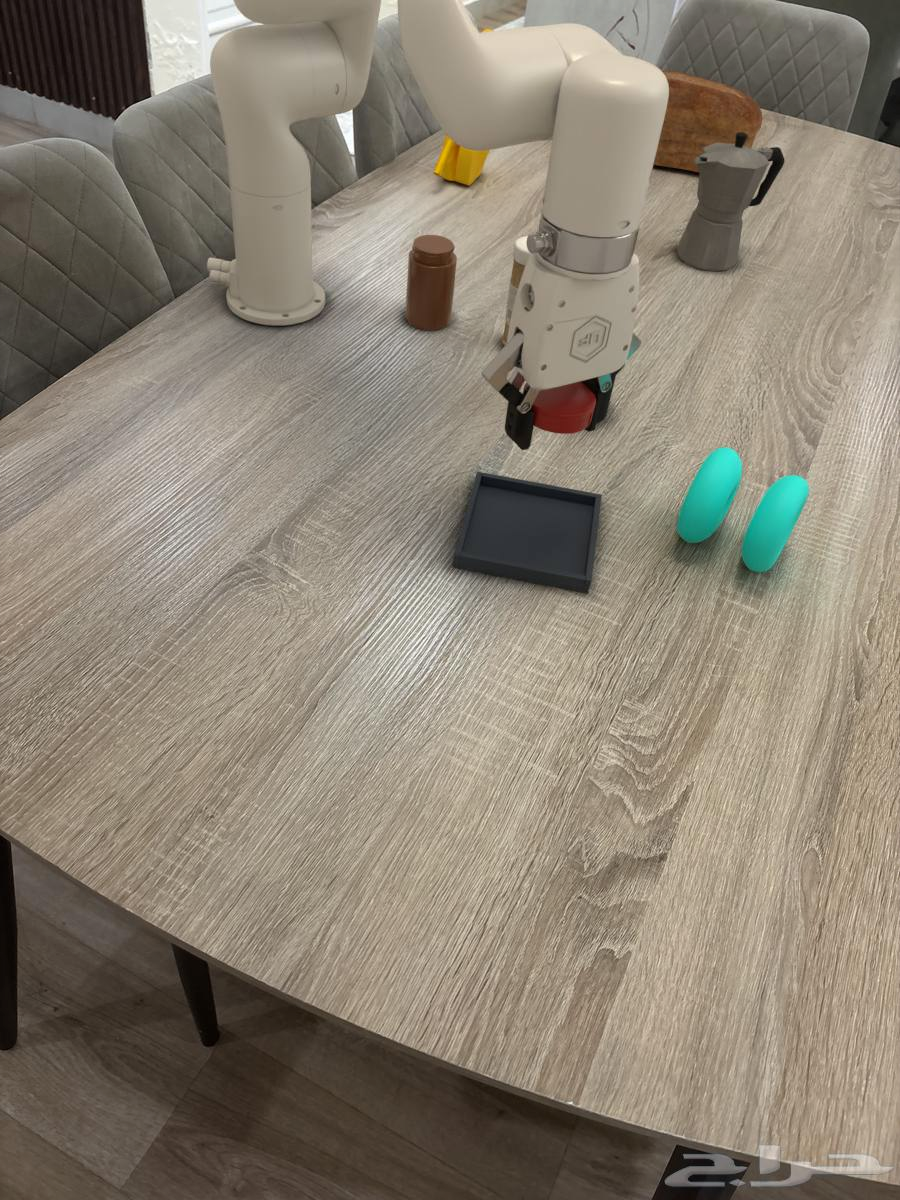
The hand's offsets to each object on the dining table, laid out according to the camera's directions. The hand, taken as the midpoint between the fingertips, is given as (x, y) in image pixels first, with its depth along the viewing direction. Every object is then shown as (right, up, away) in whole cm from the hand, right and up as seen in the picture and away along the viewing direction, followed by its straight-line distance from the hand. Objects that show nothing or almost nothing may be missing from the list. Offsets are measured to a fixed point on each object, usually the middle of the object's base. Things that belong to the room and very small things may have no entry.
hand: (550, 430), depth 85 cm
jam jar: (-12, +21, +38) cm, 45 cm away
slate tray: (-1, -9, +9) cm, 13 cm away
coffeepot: (+31, +37, +58) cm, 75 cm away
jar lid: (0, +2, -3) cm, 4 cm away
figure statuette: (-7, +54, +70) cm, 89 cm away
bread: (+29, +64, +84) cm, 109 cm away
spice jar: (0, +17, +35) cm, 39 cm away
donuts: (+19, -10, +11) cm, 24 cm away
